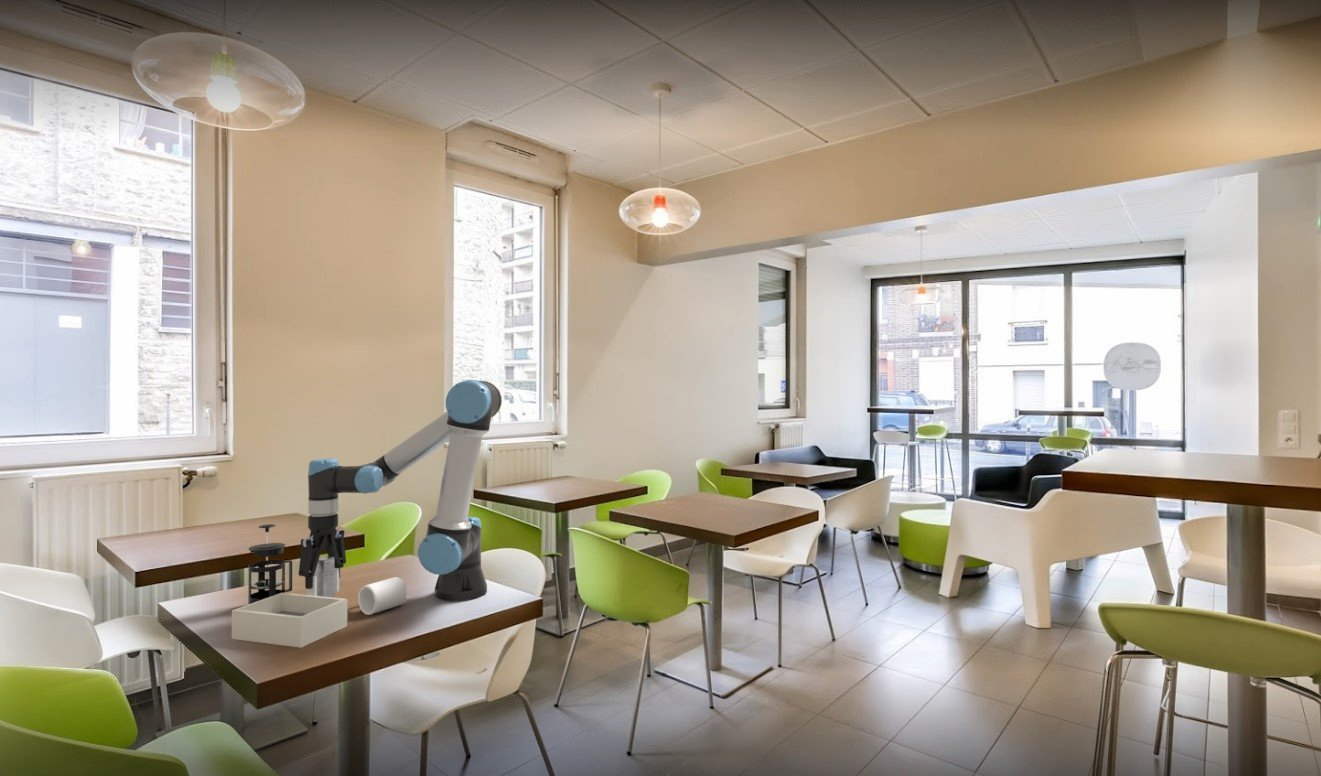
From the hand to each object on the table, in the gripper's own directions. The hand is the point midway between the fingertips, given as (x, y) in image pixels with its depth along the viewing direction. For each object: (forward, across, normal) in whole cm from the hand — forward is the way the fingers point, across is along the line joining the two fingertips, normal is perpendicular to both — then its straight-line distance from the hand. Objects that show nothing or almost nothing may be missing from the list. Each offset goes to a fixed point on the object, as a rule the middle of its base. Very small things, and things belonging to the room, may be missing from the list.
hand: (323, 595), depth 184 cm
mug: (+4, -4, +15) cm, 16 cm away
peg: (+4, 0, 0) cm, 4 cm away
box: (+4, +18, +6) cm, 19 cm away
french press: (+4, +2, -17) cm, 18 cm away
